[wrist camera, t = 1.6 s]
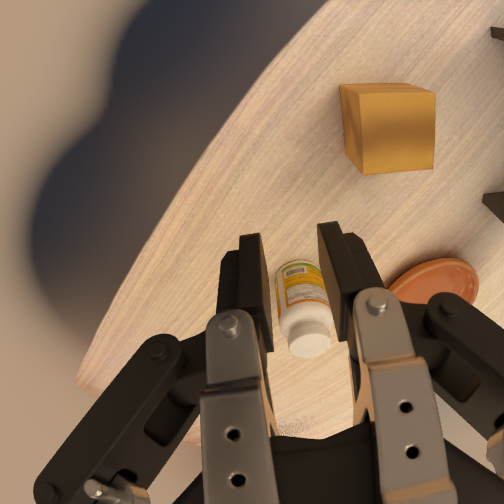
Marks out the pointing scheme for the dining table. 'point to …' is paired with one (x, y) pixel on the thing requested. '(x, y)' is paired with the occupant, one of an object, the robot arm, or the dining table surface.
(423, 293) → the saucer
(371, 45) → the dining table surface
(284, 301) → the supplement bottle
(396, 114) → the box
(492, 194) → the small wooden bench
